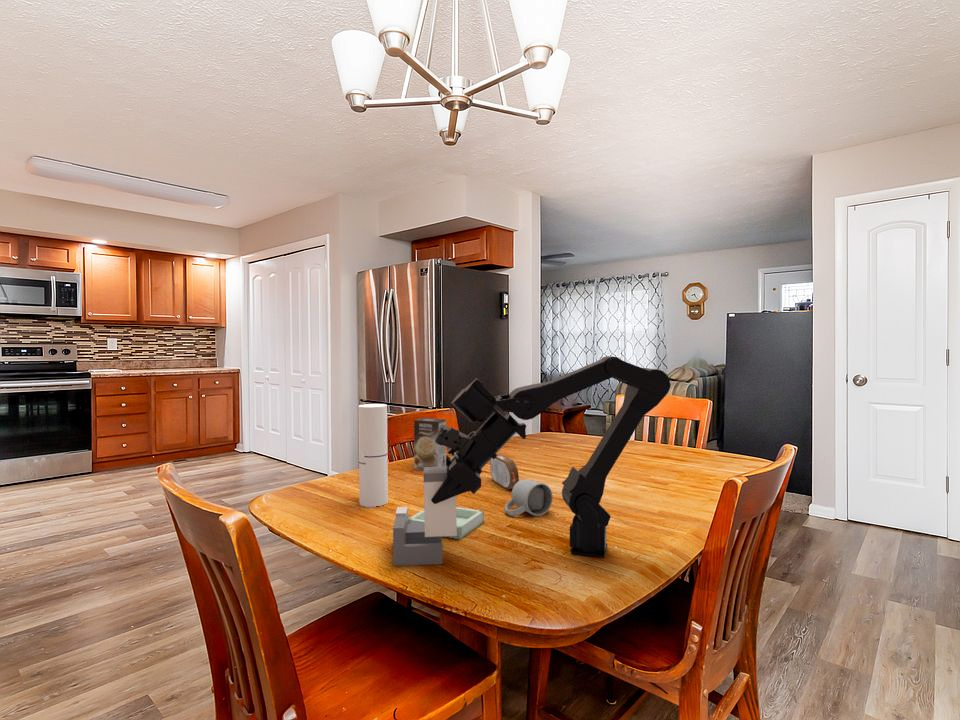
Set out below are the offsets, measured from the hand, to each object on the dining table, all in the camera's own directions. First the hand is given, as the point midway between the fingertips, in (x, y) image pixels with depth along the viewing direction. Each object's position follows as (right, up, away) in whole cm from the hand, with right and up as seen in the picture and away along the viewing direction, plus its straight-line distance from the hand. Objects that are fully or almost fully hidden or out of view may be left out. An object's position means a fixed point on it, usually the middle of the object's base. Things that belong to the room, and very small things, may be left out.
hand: (432, 498), depth 102 cm
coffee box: (-7, -9, +70) cm, 71 cm away
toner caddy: (+1, -7, 0) cm, 7 cm away
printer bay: (-3, -11, +2) cm, 12 cm away
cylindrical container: (-18, -10, +34) cm, 39 cm away
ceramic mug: (+20, -10, +26) cm, 35 cm away
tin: (+16, -10, +50) cm, 53 cm away
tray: (+1, -11, +17) cm, 20 cm away
